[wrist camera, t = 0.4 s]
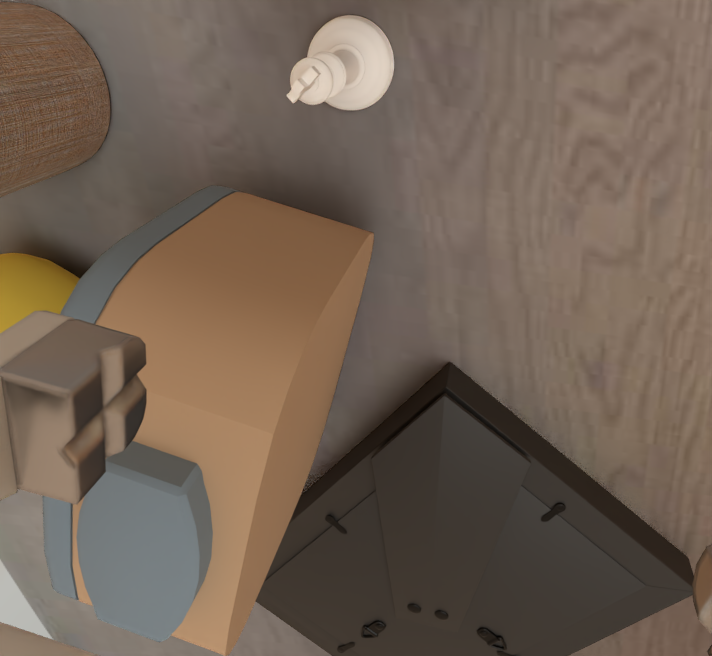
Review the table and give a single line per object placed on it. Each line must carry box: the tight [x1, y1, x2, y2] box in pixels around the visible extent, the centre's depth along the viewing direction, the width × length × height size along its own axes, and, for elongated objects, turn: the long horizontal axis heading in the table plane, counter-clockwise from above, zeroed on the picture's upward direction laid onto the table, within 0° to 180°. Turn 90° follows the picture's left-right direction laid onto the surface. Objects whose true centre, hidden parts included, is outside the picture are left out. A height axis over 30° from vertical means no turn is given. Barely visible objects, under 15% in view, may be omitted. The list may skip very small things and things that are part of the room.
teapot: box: [0, 253, 80, 333], centre depth 43 cm, size 13×20×12 cm
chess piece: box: [286, 15, 394, 110], centre depth 31 cm, size 5×5×10 cm
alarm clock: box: [42, 186, 374, 655], centre depth 35 cm, size 21×10×22 cm, turn 166°
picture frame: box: [256, 363, 694, 656], centre depth 49 cm, size 23×4×28 cm
